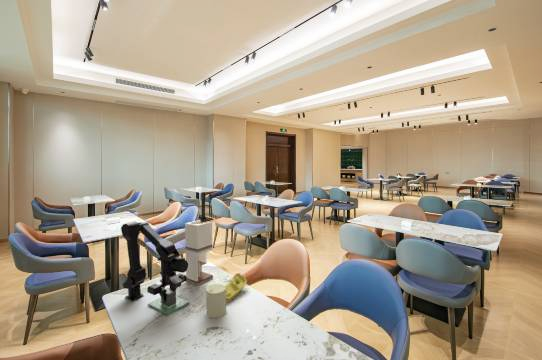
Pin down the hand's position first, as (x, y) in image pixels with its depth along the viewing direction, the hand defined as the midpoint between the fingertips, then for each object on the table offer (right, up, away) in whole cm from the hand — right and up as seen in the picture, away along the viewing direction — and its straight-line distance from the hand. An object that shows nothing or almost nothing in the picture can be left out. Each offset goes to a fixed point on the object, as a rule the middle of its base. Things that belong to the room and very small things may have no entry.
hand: (168, 300), depth 131 cm
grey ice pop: (-2, -1, +1) cm, 2 cm away
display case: (+8, -1, +28) cm, 29 cm away
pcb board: (0, -2, 0) cm, 2 cm away
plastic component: (+29, -2, +11) cm, 32 cm away
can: (+25, -3, -7) cm, 26 cm away
